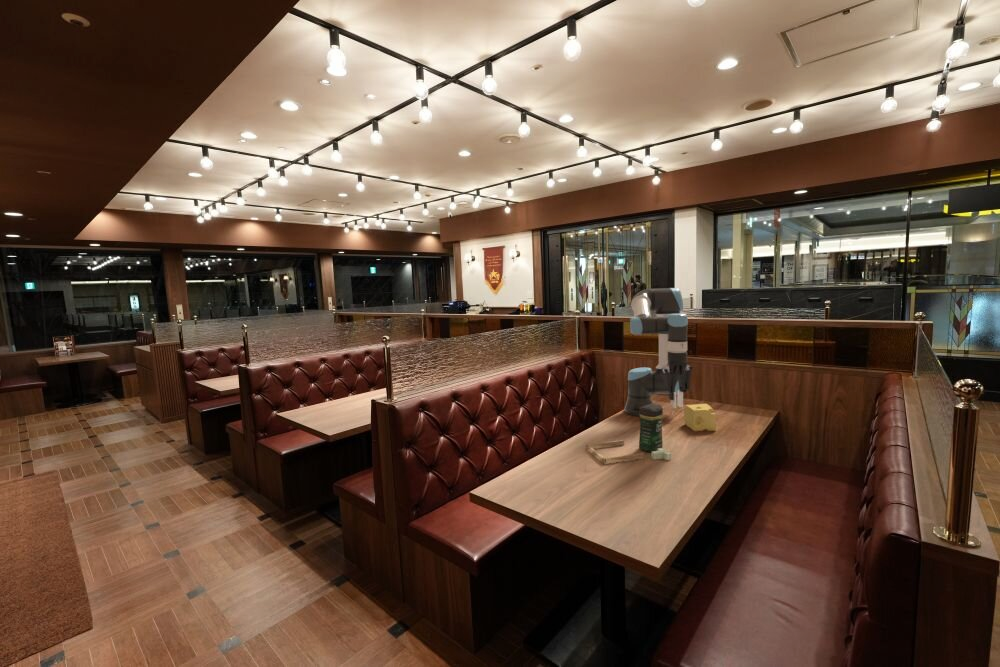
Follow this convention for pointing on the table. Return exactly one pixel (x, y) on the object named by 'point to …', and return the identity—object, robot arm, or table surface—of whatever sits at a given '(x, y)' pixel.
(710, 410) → the cheese
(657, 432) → the coffee jar
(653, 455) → the sage T block
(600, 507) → the table surface
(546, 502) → the table surface
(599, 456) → the oak frame
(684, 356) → the robot arm
